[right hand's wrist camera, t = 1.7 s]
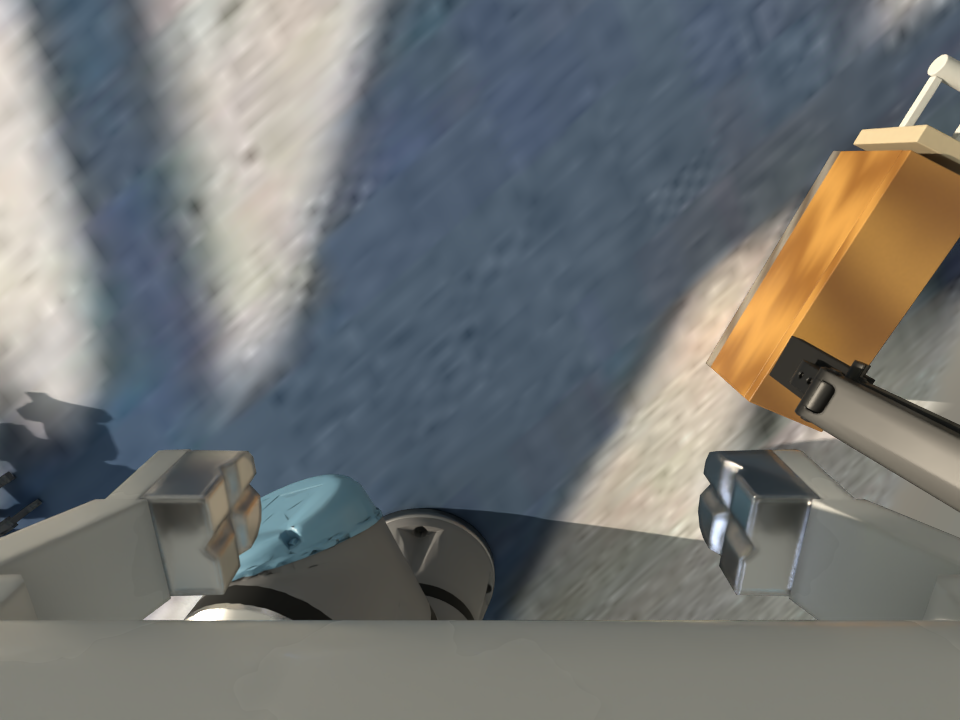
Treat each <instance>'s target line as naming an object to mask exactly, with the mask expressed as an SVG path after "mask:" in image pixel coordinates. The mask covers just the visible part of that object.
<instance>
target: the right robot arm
mask: <svg viewBox="0 0 960 720" xmlns="http://www.w3.org/2000/svg"><path fill="white" fill-rule="evenodd" d="M255 475H256V469H255V463H254V458H253V456H252V455H251V454H250V453H249V452H248V451H221V450H190V449H184V450H162V451H158V452H157V453H156V454H154V455H153V456H152V457H151V458H150V459H149V460H148V461H147V462H146V463H144V464H143V465H142V466H141V467H140V468H139V469H138V470H137V471H136V472H135V473H133V474H132V475H131V476H130V477H129V478H128V479H127V480H126V481H125V482H123V483H122V484H121V485H120V486H119V487H118V488H117V489H116V490H115V491H113V492H112V493H111V494H110V495H109V496H108V497H107V498H106V499H95V500H92V501H90V502H88V503H85V504H83V505H80V506H78V507H75V508H73V509H70V510H68V511H65V512H63V513H60V514H58V515H55V516H53V517H51V518H48V519H46V520H43V521H41V522H38V523H36V524H33V525H31V526H28V527H26V528H23V529H21V530H19V531H16V532H14V533H11V534H9V535H6V536H4V537H1V538H0V720H960V538H958V537H956V536H954V535H951V534H949V533H946V532H944V531H941V530H939V529H936V528H934V527H931V526H929V525H926V524H924V523H922V522H919V521H917V520H914V519H912V518H909V517H907V516H904V515H902V514H900V513H897V512H895V511H892V510H890V509H887V508H885V507H882V506H880V505H877V504H875V503H872V502H870V501H868V500H865V499H854V498H853V497H852V496H851V495H850V494H849V493H848V492H847V491H845V490H844V489H843V488H842V487H841V486H840V485H839V484H838V483H837V482H836V481H834V480H833V479H832V478H831V477H830V476H829V475H828V474H827V473H826V472H825V471H823V470H822V469H821V468H820V467H819V466H818V465H817V464H816V463H815V462H813V461H812V460H811V459H810V458H809V457H808V456H807V455H806V454H805V453H804V452H802V451H799V450H796V449H789V450H747V451H715V452H709V455H708V457H707V459H706V462H705V468H704V475H705V476H706V478H707V479H708V481H709V482H710V485H709V486H708V487H707V488H706V489H705V490H704V491H703V493H702V494H701V495H700V500H699V508H698V515H699V525H700V529H701V533H702V536H703V538H704V540H705V542H706V544H707V546H708V547H709V548H710V549H711V550H713V551H714V552H716V553H718V554H719V555H721V559H720V565H719V566H720V568H721V570H722V571H723V573H724V575H725V576H726V578H727V580H728V581H729V583H730V585H731V586H732V588H733V590H734V592H735V593H736V595H768V596H790V597H789V599H791V600H792V601H793V602H795V603H796V604H797V605H799V606H800V607H801V608H803V609H804V610H805V611H807V612H808V613H809V614H811V615H812V616H813V617H815V618H816V619H817V620H143V619H144V618H146V617H147V616H148V615H150V614H151V613H152V612H154V611H155V610H156V609H158V608H159V607H160V606H162V605H163V604H164V603H166V602H167V601H168V600H170V599H171V597H170V596H191V595H224V593H225V592H226V590H227V588H228V587H229V585H230V583H231V582H232V580H233V578H234V576H235V575H236V573H237V571H238V570H239V568H240V566H241V565H240V559H239V555H241V554H242V553H244V552H246V551H247V550H249V549H250V548H251V547H252V546H253V544H254V542H255V540H256V538H257V536H258V532H259V528H260V524H261V515H262V506H261V499H260V495H259V494H258V493H257V491H256V490H255V489H254V488H253V487H252V486H251V485H250V482H251V481H252V479H253V478H254V476H255Z"/></svg>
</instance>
